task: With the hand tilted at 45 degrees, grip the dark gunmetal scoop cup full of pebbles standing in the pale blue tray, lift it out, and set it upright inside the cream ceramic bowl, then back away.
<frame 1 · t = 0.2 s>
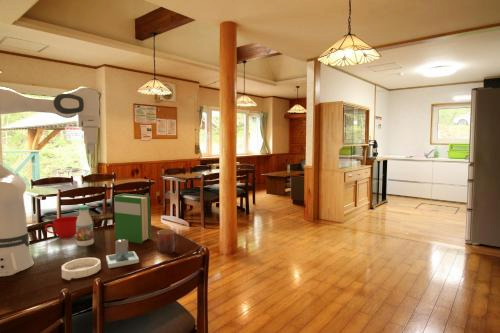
hand: (90, 153, 145), 48 cm above the table, tool pointing down, fingers open, 8 cm apart
ceramic cup: (63, 238, 174), on the table
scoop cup: (122, 260, 139), point 1 cm above the table, touching parts tray
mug: (164, 251, 153), on the table
parts tray: (122, 262, 139), on the table
milk bottle: (85, 244, 164), on the table
bowl: (81, 272, 129), on the table
hardback book: (133, 239, 172), on the table
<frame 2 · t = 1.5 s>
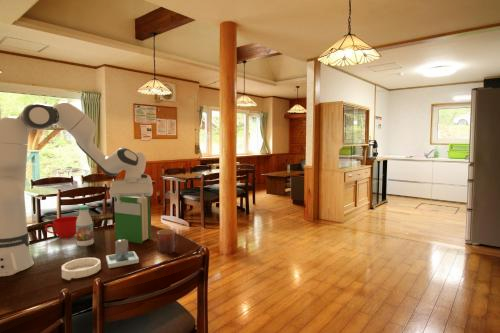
hand: (128, 203, 150), 24 cm above the table, tool tilted 45°, fingers open, 8 cm apart
nothing on the table moved.
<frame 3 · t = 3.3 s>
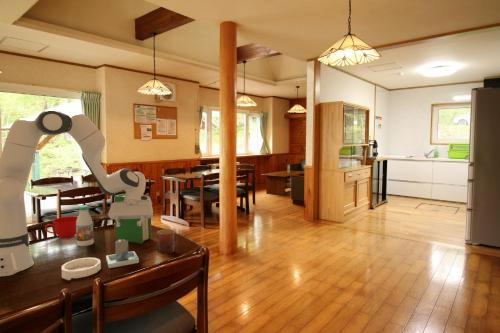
hand: (128, 225, 148), 14 cm above the table, tool tilted 45°, fingers open, 8 cm apart
nothing on the table moved.
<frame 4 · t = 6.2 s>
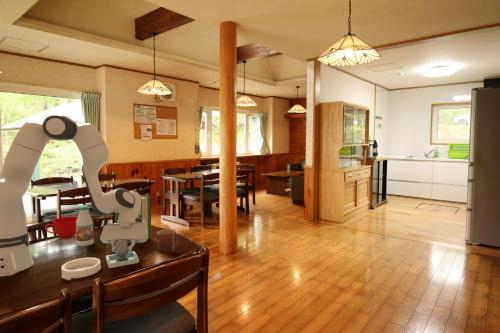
hand: (121, 250, 138), 6 cm above the table, tool tilted 45°, fingers closed on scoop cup, 5 cm apart
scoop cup: (122, 260, 139), point 1 cm above the table, touching gripper, parts tray
everything else where it was.
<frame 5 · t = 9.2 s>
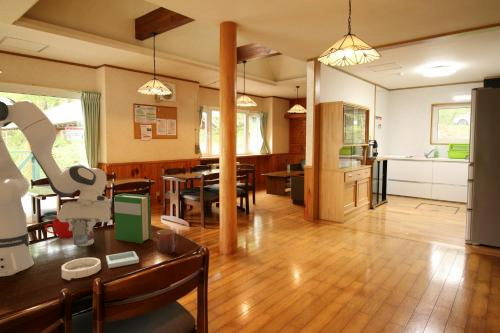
hand: (79, 230, 127), 18 cm above the table, tool tilted 45°, fingers closed on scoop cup, 5 cm apart
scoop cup: (80, 243, 129), point 12 cm above the table, touching gripper
everything else where it was.
when the fingers open (7 cm above the table, at t = 12.4 s): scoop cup stays where it is, resting on bowl.
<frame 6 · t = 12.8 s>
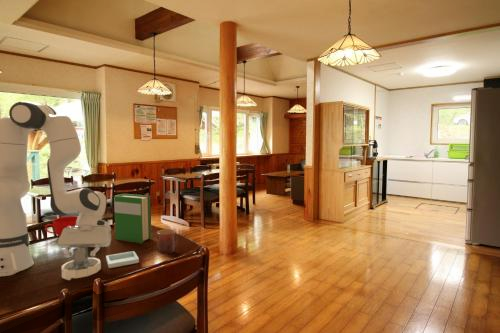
hand: (80, 256, 128), 7 cm above the table, tool tilted 45°, fingers open, 8 cm apart
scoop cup: (81, 270, 129), point 1 cm above the table, touching bowl
everything else where it was.
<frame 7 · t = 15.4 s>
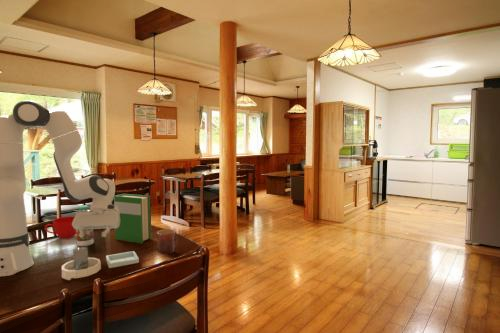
hand: (92, 236, 140), 11 cm above the table, tool tilted 45°, fingers open, 8 cm apart
nothing on the table moved.
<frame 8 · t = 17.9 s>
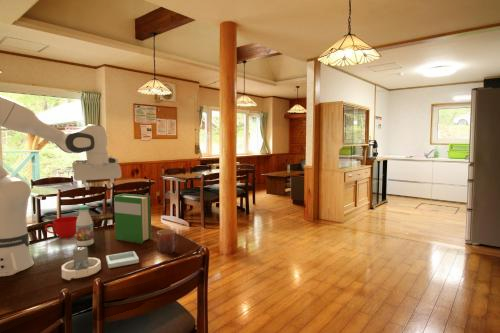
hand: (98, 188, 148), 31 cm above the table, tool pointing down, fingers open, 8 cm apart
nothing on the table moved.
at the end: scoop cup inside the target area on the bowl (0.1 cm from its centre), point 0.8 cm above the bowl's base; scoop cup tilted 0°; the gripper is holding nothing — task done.
